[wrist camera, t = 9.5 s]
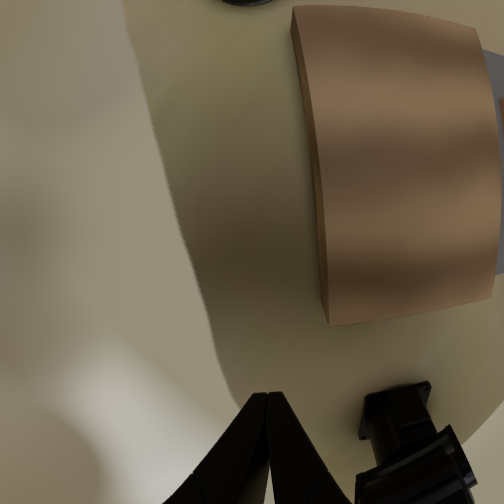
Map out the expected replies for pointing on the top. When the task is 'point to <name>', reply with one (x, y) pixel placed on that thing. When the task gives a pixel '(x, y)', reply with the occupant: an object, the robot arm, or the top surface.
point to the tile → (502, 110)
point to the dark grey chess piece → (246, 2)
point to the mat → (500, 75)
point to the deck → (398, 160)
